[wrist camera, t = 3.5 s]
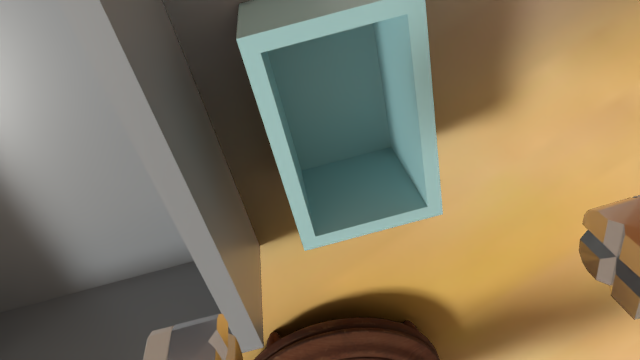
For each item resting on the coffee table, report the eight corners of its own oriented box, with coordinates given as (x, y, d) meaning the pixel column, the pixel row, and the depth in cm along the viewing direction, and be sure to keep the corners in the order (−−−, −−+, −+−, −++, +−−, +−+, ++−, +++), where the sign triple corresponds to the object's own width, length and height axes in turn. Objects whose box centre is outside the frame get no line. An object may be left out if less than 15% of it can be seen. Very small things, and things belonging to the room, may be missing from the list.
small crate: (375, -33, 18) (424, -11, 13) (400, 148, 23) (442, 214, 18) (239, 3, 18) (235, 39, 13) (292, 177, 23) (304, 250, 18)
